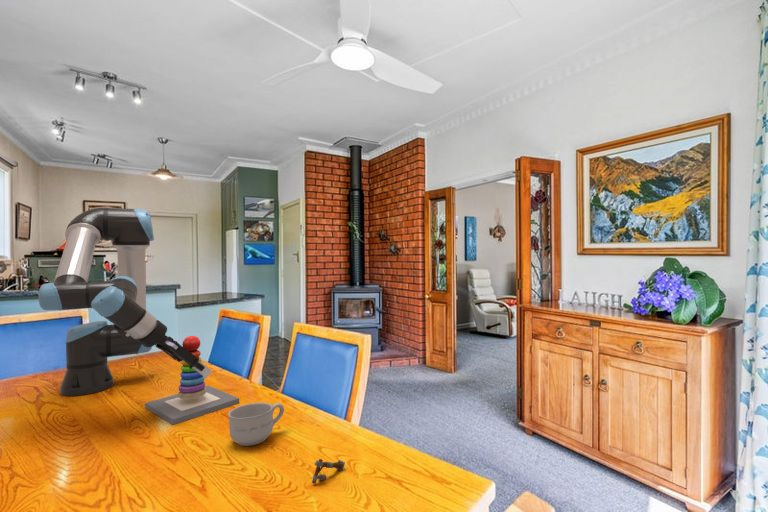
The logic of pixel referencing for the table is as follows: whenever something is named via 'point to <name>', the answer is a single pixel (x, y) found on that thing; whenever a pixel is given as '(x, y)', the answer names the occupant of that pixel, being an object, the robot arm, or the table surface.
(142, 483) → the table surface
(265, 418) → the teacup
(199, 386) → the stacking toy
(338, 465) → the dark triangular frame
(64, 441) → the table surface
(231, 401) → the plate
